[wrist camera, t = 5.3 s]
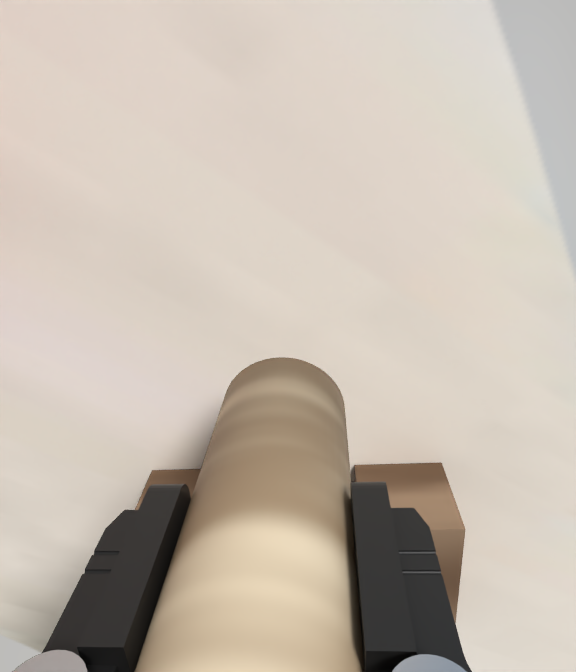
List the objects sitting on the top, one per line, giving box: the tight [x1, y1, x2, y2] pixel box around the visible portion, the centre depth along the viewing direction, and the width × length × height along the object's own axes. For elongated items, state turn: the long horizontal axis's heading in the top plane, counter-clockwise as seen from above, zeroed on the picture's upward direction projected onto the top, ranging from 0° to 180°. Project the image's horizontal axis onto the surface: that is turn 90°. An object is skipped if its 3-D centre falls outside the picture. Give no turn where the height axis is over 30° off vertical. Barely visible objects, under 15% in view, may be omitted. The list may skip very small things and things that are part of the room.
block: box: [135, 463, 465, 623], centre depth 21 cm, size 10×12×4 cm
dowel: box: [135, 358, 365, 672], centre depth 9 cm, size 4×4×12 cm
